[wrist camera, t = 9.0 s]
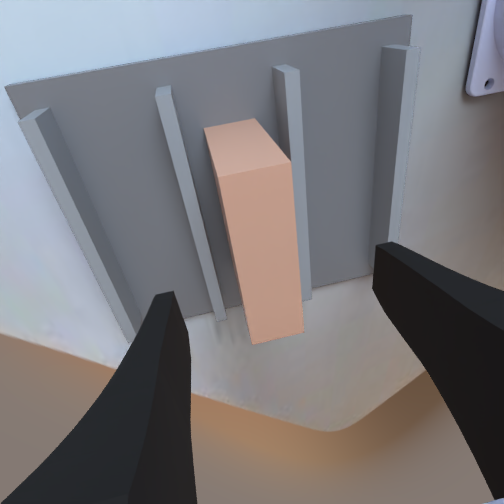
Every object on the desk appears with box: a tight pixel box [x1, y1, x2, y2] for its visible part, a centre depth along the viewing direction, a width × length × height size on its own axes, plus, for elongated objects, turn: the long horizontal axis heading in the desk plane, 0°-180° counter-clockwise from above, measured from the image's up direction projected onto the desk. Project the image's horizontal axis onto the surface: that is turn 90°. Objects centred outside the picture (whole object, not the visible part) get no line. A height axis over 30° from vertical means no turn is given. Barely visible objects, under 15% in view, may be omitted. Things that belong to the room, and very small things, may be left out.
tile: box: [204, 118, 304, 345], centre depth 16 cm, size 2×8×6 cm, turn 8°
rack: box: [5, 15, 421, 343], centre depth 18 cm, size 17×14×3 cm
